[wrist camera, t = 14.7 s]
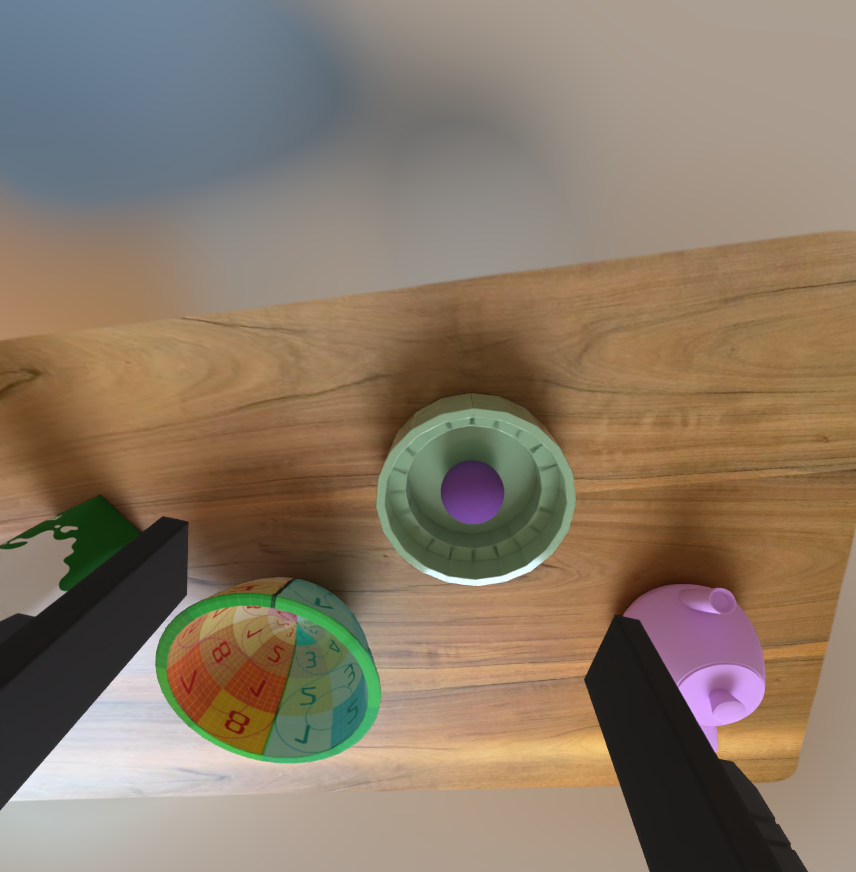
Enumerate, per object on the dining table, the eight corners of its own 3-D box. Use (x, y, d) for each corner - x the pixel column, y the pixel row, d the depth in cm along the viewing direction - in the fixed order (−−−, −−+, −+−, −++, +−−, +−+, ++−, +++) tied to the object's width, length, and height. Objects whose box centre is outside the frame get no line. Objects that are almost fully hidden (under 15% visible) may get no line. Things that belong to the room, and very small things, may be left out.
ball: (471, 439, 40) (472, 463, 35) (514, 478, 42) (521, 507, 36) (430, 478, 42) (424, 507, 37) (471, 515, 43) (473, 548, 38)
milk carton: (98, 484, 45) (-153, 622, 26) (160, 542, 47) (-31, 709, 28) (51, 523, 47) (-213, 678, 28) (113, 578, 49) (-95, 755, 31)
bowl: (363, 701, 54) (345, 788, 45) (197, 650, 53) (142, 729, 43) (419, 569, 47) (411, 640, 37) (227, 506, 45) (169, 563, 36)
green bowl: (470, 353, 38) (473, 365, 33) (595, 473, 42) (617, 502, 36) (352, 478, 43) (337, 506, 38) (472, 576, 47) (475, 615, 41)
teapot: (746, 538, 43) (835, 613, 33) (726, 680, 50) (796, 779, 40) (610, 549, 44) (657, 624, 34) (608, 686, 51) (647, 783, 41)
